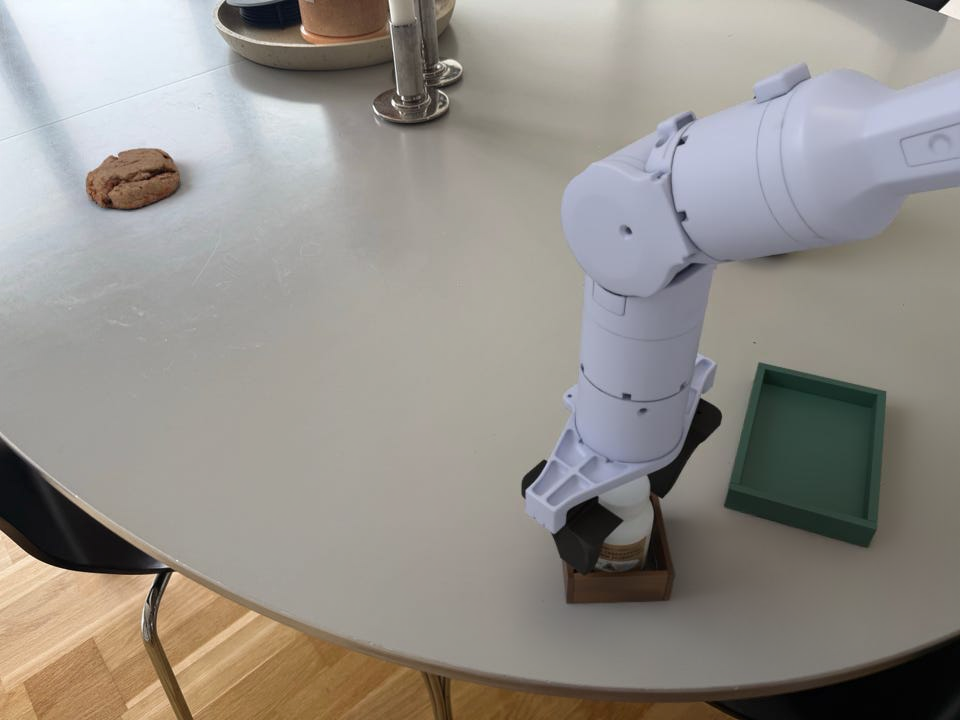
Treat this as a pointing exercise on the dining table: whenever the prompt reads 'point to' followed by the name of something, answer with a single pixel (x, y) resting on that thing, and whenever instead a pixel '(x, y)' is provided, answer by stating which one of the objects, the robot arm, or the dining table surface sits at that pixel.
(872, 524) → the tray
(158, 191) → the cookie
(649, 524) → the pill bottle
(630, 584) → the wooden frame
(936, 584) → the dining table surface
